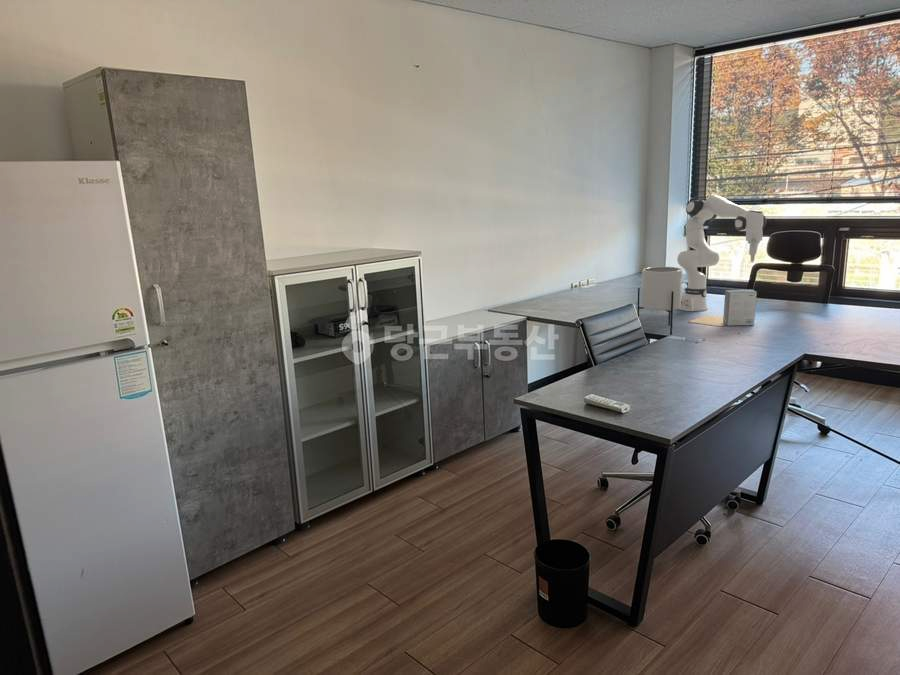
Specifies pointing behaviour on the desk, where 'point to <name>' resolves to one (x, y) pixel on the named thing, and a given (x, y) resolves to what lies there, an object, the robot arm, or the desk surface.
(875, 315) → the desk surface
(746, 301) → the hard drive box
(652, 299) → the plant pot with stand
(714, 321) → the cork mat
